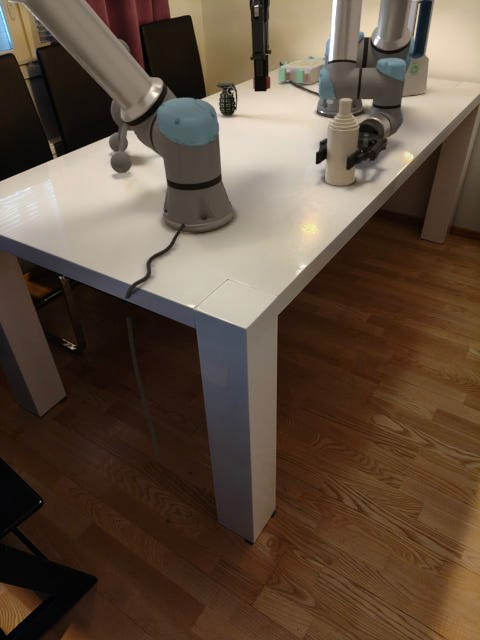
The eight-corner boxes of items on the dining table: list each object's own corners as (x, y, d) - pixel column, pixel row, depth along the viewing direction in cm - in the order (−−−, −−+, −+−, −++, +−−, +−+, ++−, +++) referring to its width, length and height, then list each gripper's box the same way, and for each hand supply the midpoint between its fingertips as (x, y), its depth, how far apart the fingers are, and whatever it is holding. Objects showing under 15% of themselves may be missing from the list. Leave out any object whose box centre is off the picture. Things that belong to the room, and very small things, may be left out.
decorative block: (301, 54, 217) (341, 57, 207) (300, 70, 221) (340, 74, 211) (269, 65, 201) (312, 69, 191) (269, 82, 205) (311, 87, 195)
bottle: (358, 176, 121) (366, 96, 110) (348, 187, 116) (356, 105, 105) (331, 172, 124) (336, 94, 113) (320, 183, 119) (324, 102, 108)
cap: (256, 85, 115) (256, 75, 114) (272, 86, 114) (272, 76, 113) (251, 89, 112) (250, 79, 111) (267, 90, 111) (267, 80, 110)
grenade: (217, 117, 168) (214, 86, 162) (221, 112, 172) (219, 82, 166) (235, 117, 166) (233, 86, 160) (239, 113, 171) (238, 82, 165)
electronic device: (395, 97, 177) (408, -1, 159) (385, 92, 183) (397, -3, 164) (425, 93, 179) (442, -4, 161) (414, 89, 185) (429, -6, 167)
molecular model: (195, 164, 133) (181, 39, 115) (114, 179, 127) (87, 50, 109) (172, 140, 150) (157, 28, 132) (101, 152, 145) (75, 37, 126)
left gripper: (273, -35, 92) (274, 97, 106) (280, -39, 105) (280, 79, 119) (234, -33, 93) (240, 98, 107) (246, -37, 106) (250, 80, 120)
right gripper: (406, 153, 125) (371, 184, 111) (334, 142, 135) (294, 169, 120) (410, 123, 121) (375, 151, 106) (336, 113, 130) (294, 138, 116)
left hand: (261, 88), depth 113 cm, fingers closed on cap, 4 cm apart
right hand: (332, 161), depth 113 cm, fingers closed on bottle, 7 cm apart
